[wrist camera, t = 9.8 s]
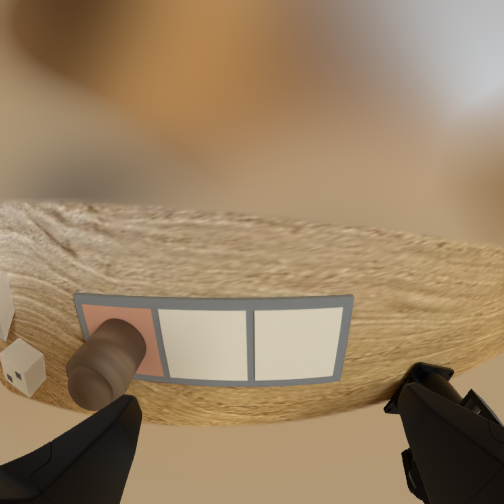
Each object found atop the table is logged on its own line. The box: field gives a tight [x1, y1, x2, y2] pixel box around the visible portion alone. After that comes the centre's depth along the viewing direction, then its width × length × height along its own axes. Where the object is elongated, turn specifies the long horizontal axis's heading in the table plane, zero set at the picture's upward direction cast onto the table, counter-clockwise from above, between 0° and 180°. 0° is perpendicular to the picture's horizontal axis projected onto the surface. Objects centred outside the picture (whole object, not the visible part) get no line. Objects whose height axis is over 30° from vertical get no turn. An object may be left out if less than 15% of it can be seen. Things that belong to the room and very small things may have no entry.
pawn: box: [66, 318, 146, 411], centre depth 16 cm, size 4×4×8 cm
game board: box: [73, 293, 354, 387], centre depth 20 cm, size 22×8×1 cm, turn 91°
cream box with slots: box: [0, 338, 47, 398], centre depth 20 cm, size 4×4×4 cm
